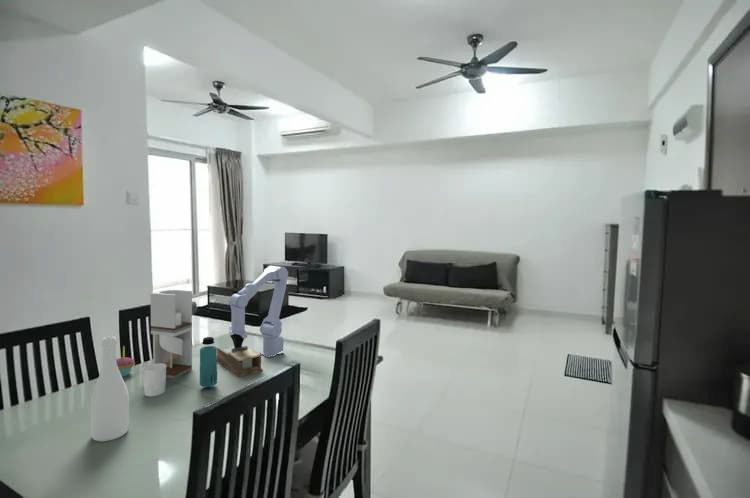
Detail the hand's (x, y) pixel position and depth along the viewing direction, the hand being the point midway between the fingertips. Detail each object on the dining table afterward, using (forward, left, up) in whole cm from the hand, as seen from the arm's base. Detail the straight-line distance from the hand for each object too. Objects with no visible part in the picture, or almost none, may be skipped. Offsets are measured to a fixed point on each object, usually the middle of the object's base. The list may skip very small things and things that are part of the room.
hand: (237, 350), depth 178 cm
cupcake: (+41, -20, -7) cm, 46 cm away
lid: (0, +7, -1) cm, 7 cm away
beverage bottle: (+19, +15, -7) cm, 26 cm away
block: (0, +7, -6) cm, 9 cm away
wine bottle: (+54, +30, -7) cm, 62 cm away
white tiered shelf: (+25, -10, -7) cm, 28 cm away
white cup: (+36, +7, -7) cm, 38 cm away
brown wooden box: (0, +1, -7) cm, 7 cm away
